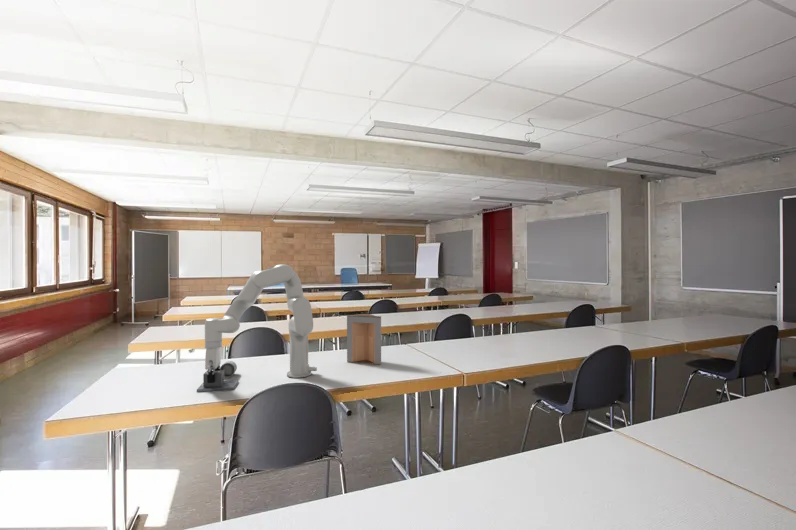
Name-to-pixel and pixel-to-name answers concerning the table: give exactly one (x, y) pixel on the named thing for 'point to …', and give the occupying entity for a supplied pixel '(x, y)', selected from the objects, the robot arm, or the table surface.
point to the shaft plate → (226, 386)
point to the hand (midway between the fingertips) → (213, 379)
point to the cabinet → (364, 339)
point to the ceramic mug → (229, 368)
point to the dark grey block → (218, 379)
